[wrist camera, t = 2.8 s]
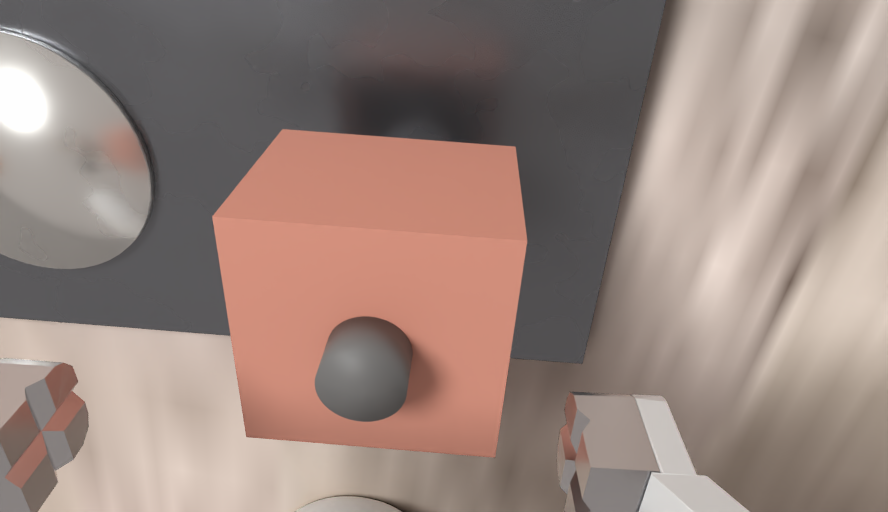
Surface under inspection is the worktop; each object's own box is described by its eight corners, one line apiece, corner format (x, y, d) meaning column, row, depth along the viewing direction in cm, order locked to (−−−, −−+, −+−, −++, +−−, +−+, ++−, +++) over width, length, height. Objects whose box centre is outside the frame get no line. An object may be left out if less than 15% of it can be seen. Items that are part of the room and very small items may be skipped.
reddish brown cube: (515, 146, 14) (531, 274, 9) (492, 331, 16) (496, 498, 12) (282, 129, 14) (187, 247, 9) (297, 315, 16) (229, 476, 12)
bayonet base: (659, -34, 15) (777, 23, 9) (577, 340, 22) (615, 522, 16) (-205, -95, 16) (-642, -78, 10) (-40, 291, 22) (-242, 450, 16)
